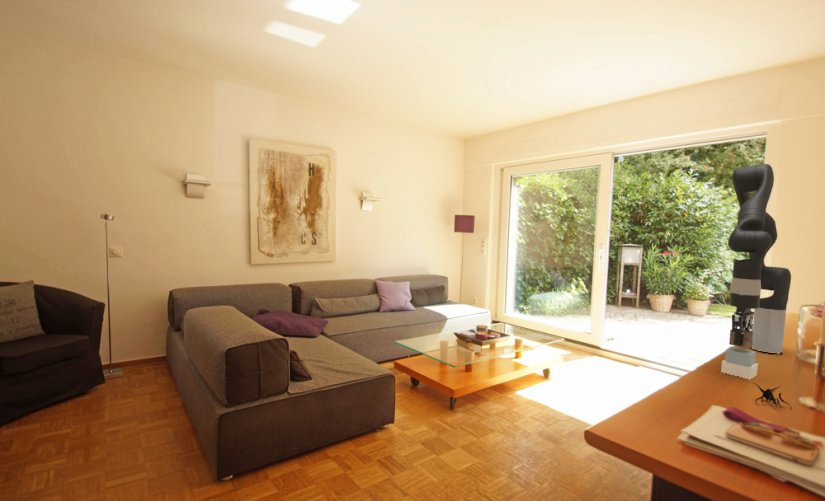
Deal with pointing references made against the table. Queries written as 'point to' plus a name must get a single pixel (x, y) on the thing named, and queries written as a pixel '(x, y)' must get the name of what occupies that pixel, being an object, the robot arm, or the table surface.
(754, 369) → the base block
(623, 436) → the table surface
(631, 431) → the table surface
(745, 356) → the grey rectangular block
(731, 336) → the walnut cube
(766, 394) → the creature
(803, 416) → the table surface
